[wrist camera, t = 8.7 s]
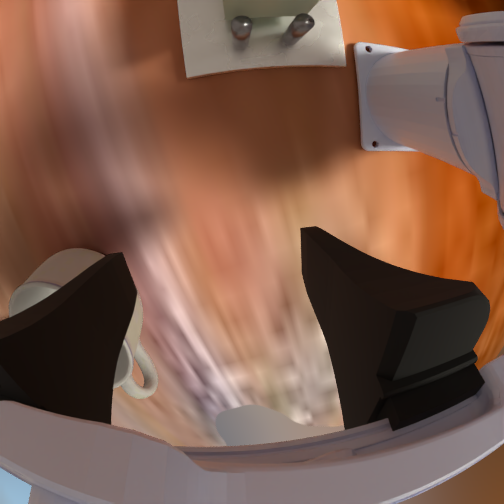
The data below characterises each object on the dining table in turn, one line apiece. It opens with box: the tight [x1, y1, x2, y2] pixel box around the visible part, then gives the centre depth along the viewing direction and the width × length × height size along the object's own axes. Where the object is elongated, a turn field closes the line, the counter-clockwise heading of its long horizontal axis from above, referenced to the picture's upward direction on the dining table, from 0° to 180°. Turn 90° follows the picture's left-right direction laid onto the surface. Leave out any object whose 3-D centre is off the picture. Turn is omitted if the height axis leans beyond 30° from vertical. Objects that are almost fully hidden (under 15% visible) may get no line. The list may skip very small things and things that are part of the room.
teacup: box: [9, 248, 158, 399], centre depth 20 cm, size 14×11×8 cm
